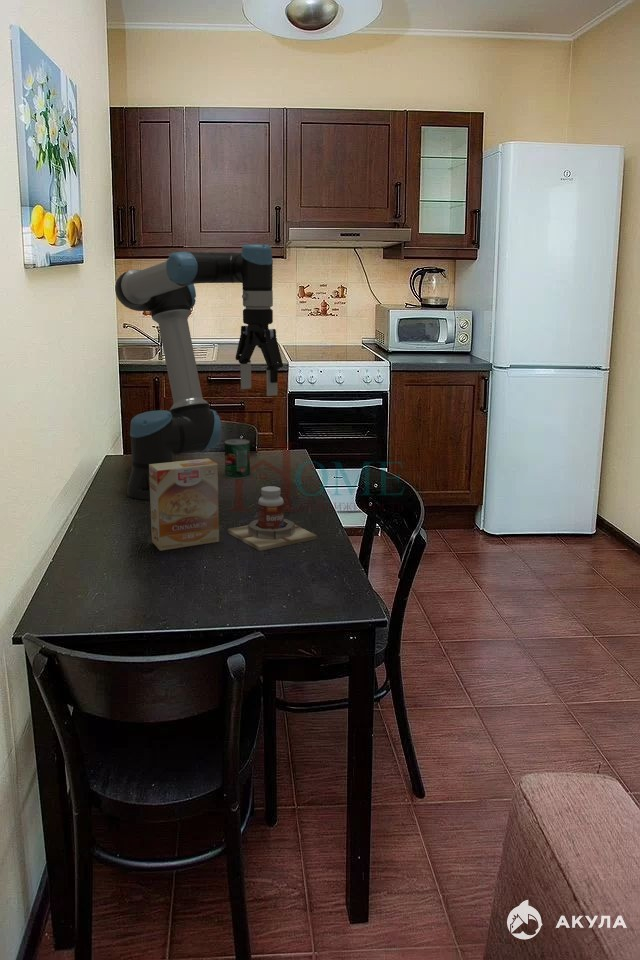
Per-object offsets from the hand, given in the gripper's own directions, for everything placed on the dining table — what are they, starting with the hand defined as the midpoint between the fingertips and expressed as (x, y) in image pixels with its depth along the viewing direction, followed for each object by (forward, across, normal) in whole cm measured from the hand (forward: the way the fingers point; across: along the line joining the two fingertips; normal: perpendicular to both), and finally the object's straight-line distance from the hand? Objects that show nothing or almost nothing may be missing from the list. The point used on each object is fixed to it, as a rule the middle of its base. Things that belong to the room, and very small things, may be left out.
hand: (258, 392), depth 218 cm
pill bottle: (+32, +18, -7) cm, 37 cm away
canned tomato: (+33, -39, +14) cm, 53 cm away
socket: (+33, +18, -7) cm, 38 cm away
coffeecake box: (+33, +11, -27) cm, 44 cm away
